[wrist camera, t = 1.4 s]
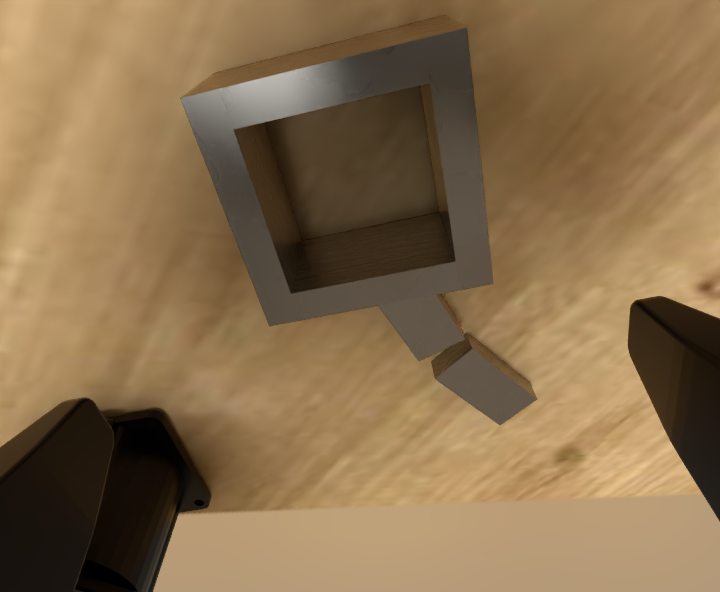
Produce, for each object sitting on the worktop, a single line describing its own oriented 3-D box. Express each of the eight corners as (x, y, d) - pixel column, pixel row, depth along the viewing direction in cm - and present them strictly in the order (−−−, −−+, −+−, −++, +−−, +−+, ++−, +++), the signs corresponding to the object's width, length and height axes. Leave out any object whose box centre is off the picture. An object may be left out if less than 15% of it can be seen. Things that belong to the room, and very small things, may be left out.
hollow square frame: (471, 231, 19) (493, 283, 16) (283, 269, 19) (269, 326, 16) (444, 15, 15) (466, 27, 12) (214, 73, 16) (180, 98, 13)
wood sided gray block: (527, 376, 23) (537, 399, 22) (492, 402, 24) (500, 425, 22) (465, 328, 21) (472, 348, 20) (430, 356, 22) (435, 378, 21)
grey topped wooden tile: (458, 318, 21) (464, 339, 20) (415, 339, 22) (418, 361, 20) (410, 243, 19) (414, 261, 18) (364, 268, 20) (365, 287, 19)
